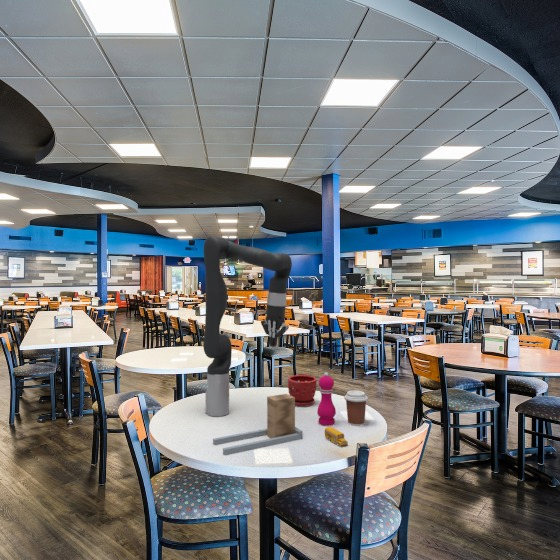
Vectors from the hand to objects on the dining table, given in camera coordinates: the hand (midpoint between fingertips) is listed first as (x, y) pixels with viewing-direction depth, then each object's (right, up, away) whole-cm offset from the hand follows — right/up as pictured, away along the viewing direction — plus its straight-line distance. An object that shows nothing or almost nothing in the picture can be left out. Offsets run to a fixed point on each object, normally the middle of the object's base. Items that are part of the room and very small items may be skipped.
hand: (272, 346), depth 163 cm
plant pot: (+13, -31, +24) cm, 41 cm away
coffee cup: (+33, -30, -3) cm, 45 cm away
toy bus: (+22, -30, -22) cm, 43 cm away
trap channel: (-5, -30, -22) cm, 37 cm away
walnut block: (+3, -29, -18) cm, 35 cm away
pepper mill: (+21, -30, -3) cm, 37 cm away
